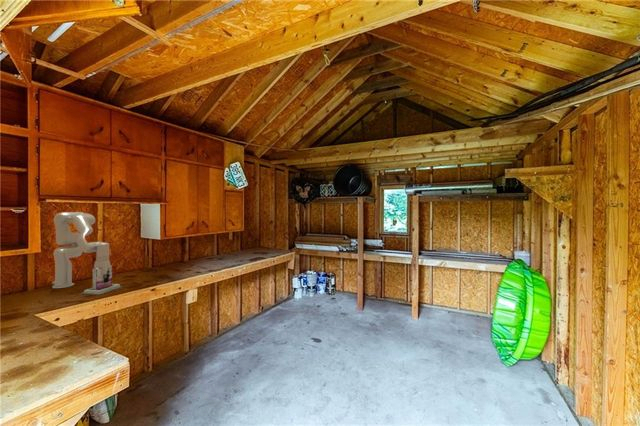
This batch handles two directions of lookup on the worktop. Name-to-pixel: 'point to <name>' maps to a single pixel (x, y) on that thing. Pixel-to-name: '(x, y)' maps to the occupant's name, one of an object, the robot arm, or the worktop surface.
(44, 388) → the worktop surface
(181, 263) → the worktop surface
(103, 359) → the worktop surface
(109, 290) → the rubber mat
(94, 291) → the light blue tray
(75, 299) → the worktop surface
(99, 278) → the candy bar box
